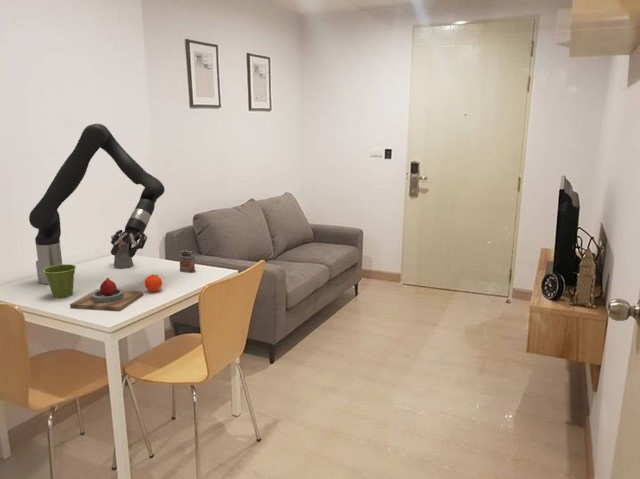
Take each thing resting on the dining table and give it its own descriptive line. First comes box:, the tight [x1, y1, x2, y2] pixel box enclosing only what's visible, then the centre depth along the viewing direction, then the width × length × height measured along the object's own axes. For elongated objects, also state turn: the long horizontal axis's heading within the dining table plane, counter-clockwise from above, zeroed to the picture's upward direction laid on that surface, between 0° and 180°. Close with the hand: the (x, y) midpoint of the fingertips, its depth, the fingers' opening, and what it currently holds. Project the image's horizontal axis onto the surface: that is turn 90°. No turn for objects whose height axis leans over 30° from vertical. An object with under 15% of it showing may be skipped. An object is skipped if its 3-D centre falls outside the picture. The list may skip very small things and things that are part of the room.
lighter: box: [178, 249, 196, 274], centre depth 236 cm, size 8×3×10 cm, turn 68°
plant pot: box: [43, 263, 77, 299], centre depth 202 cm, size 12×12×11 cm
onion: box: [99, 277, 117, 297], centre depth 195 cm, size 6×6×8 cm
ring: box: [91, 287, 124, 303], centre depth 196 cm, size 11×11×2 cm
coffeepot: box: [110, 229, 134, 270], centre depth 242 cm, size 15×9×18 cm, turn 51°
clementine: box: [144, 273, 164, 292], centre depth 208 cm, size 8×7×7 cm
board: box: [69, 288, 144, 312], centre depth 196 cm, size 20×18×2 cm
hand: (121, 255), depth 202 cm, fingers open, 8 cm apart
